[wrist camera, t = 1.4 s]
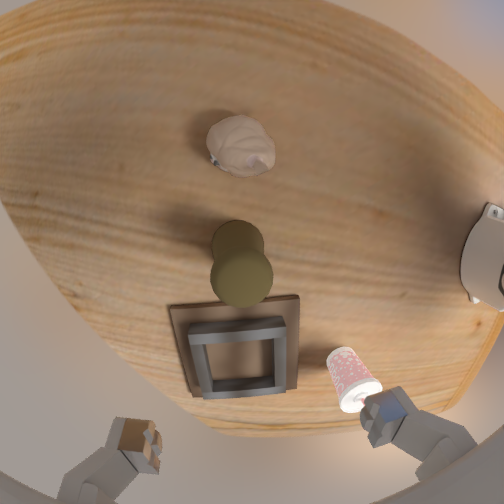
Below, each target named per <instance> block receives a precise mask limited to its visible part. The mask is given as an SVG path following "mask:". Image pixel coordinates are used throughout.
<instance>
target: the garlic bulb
mask: <svg viewBox="0 0 504 504" xmlns="http://www.w3.org/2000/svg"><path fill="white" fill-rule="evenodd" d="M206 145H207V148H208V150H209V151H210V159H211V162H212V163H213V164H214V165H215V166H218V167H219V168H220V169H222V170H224V171H226V172H229V173H230V174H231V175H232V176H235V177H241V178H245V177H248V176H255V175H256V176H258V175H260V174H262V173H265V172H267V171H269V170H270V169H271V168H272V167H273V166H274V164H275V160H276V158H275V156H276V149H275V145H274V142H273V140H272V138H271V137H269V136H268V135H267V133H266V132H265V130H264V128H263V126H262V125H261V124H260V123H259V122H258V121H257V120H256V119H254V118H251V117H247V116H245V115H237V116H232V117H228V118H225V119H223V120H221V121H219V122H218V123H216V124H214V125H213V126H212V127H211V128H210V130H209V132H208V134H207V138H206Z"/></svg>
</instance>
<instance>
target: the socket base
mask: <svg viewBox="0 0 504 504" xmlns="http://www.w3.org/2000/svg"><path fill="white" fill-rule="evenodd" d="M170 312H171V316H172V321H173V325H174V330H175V334H176V338H177V342H178V346H179V350H180V354H181V358H182V361H183V365H184V369H185V372H186V376H187V379H188V383H189V386H190V390H191V393H192V396H193V397H203V399H226V398H241V397H252V396H262V395H270V394H278V393H286V390H290V389H297V375H298V352H299V320H300V298H299V296H298V295H294V296H285V297H276V298H266V299H263V300H262V301H261V302H259V303H258V304H256V305H254V306H250V307H246V308H236V307H233V306H230V305H227V304H226V303H224V302H220V303H207V304H192V305H175V306H171V308H170Z"/></svg>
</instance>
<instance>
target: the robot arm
mask: <svg viewBox="0 0 504 504" xmlns="http://www.w3.org/2000/svg"><path fill="white" fill-rule="evenodd" d="M461 281H462V284H463V286H464V288H465V289H466V290H467V291H468V292H469V296H470V301H471V302H472V303H474V304H476V303H478V302H480V301H482V302H484V303H485V304H487V305H489V306H491V307H493V308H494V309H496V310H498V311H501V312H502V311H504V210H503V209H501V208H499V207H497V206H495V205H493V204H491V203H488V204H487V206H486V208H485V210H484V212H483V215H482V217H481V218H480V220H479V221H478V222H477V223H476V224H475V226H474V227H473V229H472V231H471V232H470V234H469V236H468V239H467V241H466V244H465V247H464V251H463V255H462V260H461ZM364 404H365V406H364V407H363V408H362V409H361V412H360V421H361V425H362V427H363V429H364V430H366V431H368V432H369V434H368V439H369V441H370V443H371V445H372V446H373V448H376V447H379V446H382V445H385V444H387V443H390V442H392V444H394V445H395V446H397V447H398V448H400V449H402V450H403V451H405V452H406V453H408V454H410V455H411V456H413V457H415V458H416V459H418V460H420V461H422V464H421V465H420V466H419V467H418V468H417V470H416V472H415V474H416V475H417V477H418V479H419V481H420V482H418V483H416V484H414V485H412V486H410V487H408V488H406V489H404V490H402V491H399V492H397V493H395V494H393V495H390V496H388V497H386V498H383V499H381V500H378V501H376V502H373V503H370V504H504V425H502V426H501V427H500V428H499V429H498V430H497V431H495V432H494V433H493V434H492V435H491V436H489V437H488V438H487V439H485V440H484V441H483V442H482V443H480V444H479V445H478V444H477V443H476V442H475V441H474V439H473V438H472V436H471V435H470V434H469V432H468V431H467V430H466V429H465V428H464V426H462V425H459V424H456V423H454V422H451V421H449V420H446V419H443V418H441V417H438V416H436V415H433V414H431V413H428V412H426V411H424V410H420V411H419V410H418V409H417V408H416V406H415V405H414V403H413V402H412V401H411V399H410V398H409V397H408V395H407V394H406V393H405V391H404V390H403V389H402V387H400V386H397V387H394V388H391V389H389V390H384V391H381V392H378V393H375V394H372V395H369V396H367V397H366V398H365V400H364ZM155 427H156V426H155V423H154V422H153V421H151V420H140V419H131V418H123V417H116V418H115V419H114V420H113V423H112V426H111V429H110V432H109V435H108V438H107V442H106V445H105V448H104V447H101V448H99V449H98V450H97V451H96V452H94V453H93V454H92V455H90V456H89V457H88V458H86V459H85V460H84V461H83V462H81V463H80V464H78V465H77V466H76V467H75V468H73V469H72V470H70V471H69V472H68V473H66V474H65V475H64V477H63V480H62V483H61V487H60V490H59V492H58V496H57V499H54V498H52V497H50V496H47V495H45V494H43V493H41V492H38V491H37V490H35V489H32V488H30V487H28V486H27V485H25V484H23V483H21V482H19V481H17V480H15V479H14V478H12V477H10V476H8V475H7V474H5V473H3V472H2V471H0V504H118V503H116V502H115V501H114V500H115V499H116V498H117V497H118V496H119V495H120V494H121V492H122V491H123V490H124V489H125V488H126V487H127V486H128V485H129V484H130V483H131V482H132V481H133V479H134V478H135V477H136V476H137V475H138V474H139V473H147V474H159V468H160V460H159V458H158V455H160V454H161V453H162V439H161V435H160V433H159V432H158V431H157V430H155Z"/></svg>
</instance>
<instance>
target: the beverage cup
mask: <svg viewBox="0 0 504 504" xmlns="http://www.w3.org/2000/svg"><path fill="white" fill-rule="evenodd" d="M326 361H327V367H328V369H329V372H330V375H331V378H332V380H333V383H334V386H335V389H336V391H337V394H338V397H339V404H340V408H341V409H342V410H343V411H344V412H347V413H354V412H359V411H361V409H362V408H363V407H364V406H365V404H364V400H365V398H366V397H367V396H369V395H372V394H375V393H378V392H381V391H382V386H381V384H380V382H379V381H378V380H377V379H374V377H373V376H372V375H371V373H370V372H369V371H368V369H367V368H366V367H365V365H364V364H363V363H362V361H361V360H360V359H359V358H358V356H357V355H356V354H355V352H354V351H353V350H352V349H351V348H349V347H340V348H337V349H336V350H334V351H332V352H331V354H330V355H329V356H328V358H327V360H326Z"/></svg>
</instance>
